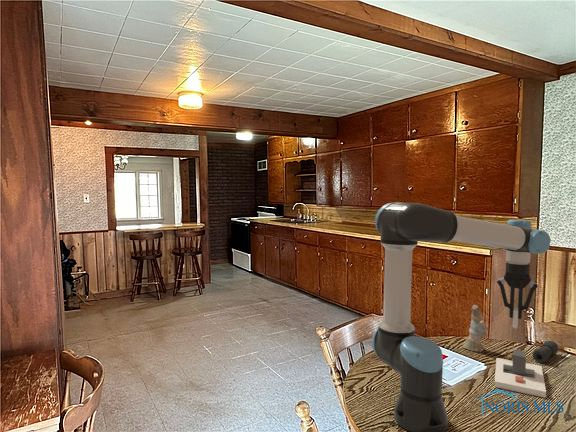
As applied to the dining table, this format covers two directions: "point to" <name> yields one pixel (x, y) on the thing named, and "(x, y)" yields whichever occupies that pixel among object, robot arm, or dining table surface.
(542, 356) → the flashlight
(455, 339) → the dining table surface
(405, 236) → the robot arm
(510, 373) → the socket plate
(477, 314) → the figurine
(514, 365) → the plug
